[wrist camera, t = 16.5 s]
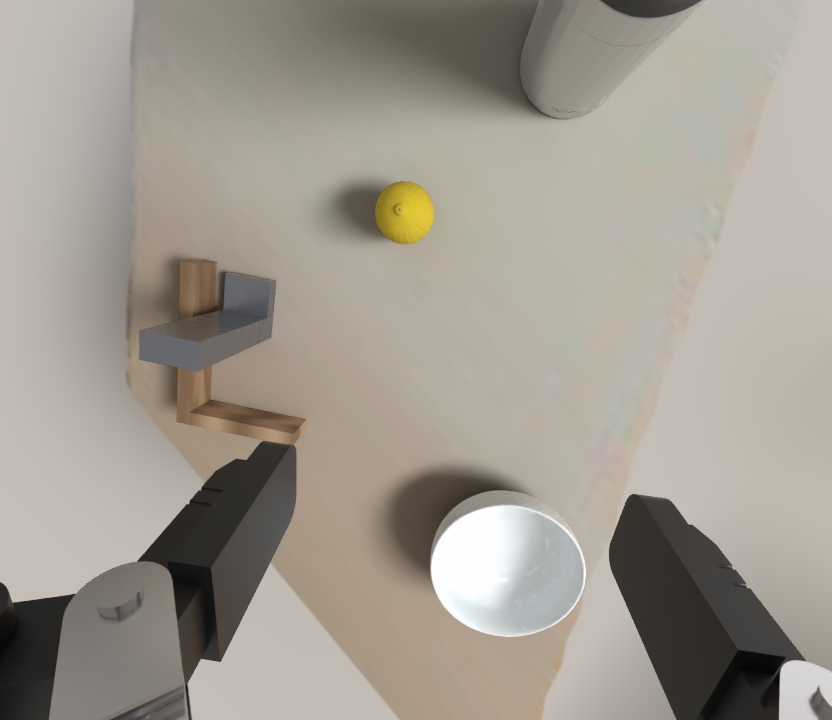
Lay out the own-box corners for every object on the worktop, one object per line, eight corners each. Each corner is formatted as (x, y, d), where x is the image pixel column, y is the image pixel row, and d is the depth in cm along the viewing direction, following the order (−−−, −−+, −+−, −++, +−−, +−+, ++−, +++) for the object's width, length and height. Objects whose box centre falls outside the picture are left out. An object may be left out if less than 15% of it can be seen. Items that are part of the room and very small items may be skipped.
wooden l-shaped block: (321, 282, 45) (309, 285, 41) (304, 430, 50) (292, 445, 46) (203, 259, 45) (180, 260, 41) (197, 408, 50) (176, 421, 46)
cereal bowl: (590, 562, 51) (611, 610, 44) (469, 604, 54) (472, 655, 47) (533, 449, 48) (547, 482, 41) (408, 502, 51) (402, 541, 44)
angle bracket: (276, 280, 45) (201, 292, 32) (271, 337, 47) (197, 371, 33) (232, 272, 45) (139, 280, 32) (229, 329, 47) (139, 359, 34)
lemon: (372, 222, 43) (354, 216, 35) (404, 176, 41) (393, 159, 34) (414, 256, 43) (405, 256, 35) (446, 211, 42) (445, 202, 34)
